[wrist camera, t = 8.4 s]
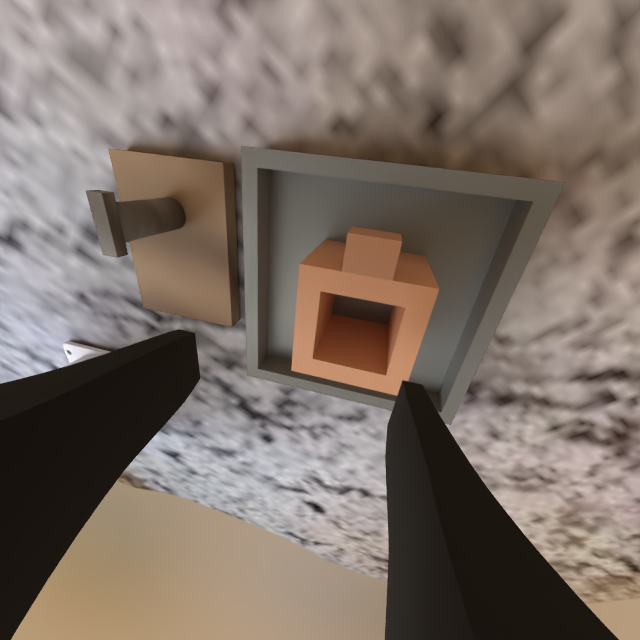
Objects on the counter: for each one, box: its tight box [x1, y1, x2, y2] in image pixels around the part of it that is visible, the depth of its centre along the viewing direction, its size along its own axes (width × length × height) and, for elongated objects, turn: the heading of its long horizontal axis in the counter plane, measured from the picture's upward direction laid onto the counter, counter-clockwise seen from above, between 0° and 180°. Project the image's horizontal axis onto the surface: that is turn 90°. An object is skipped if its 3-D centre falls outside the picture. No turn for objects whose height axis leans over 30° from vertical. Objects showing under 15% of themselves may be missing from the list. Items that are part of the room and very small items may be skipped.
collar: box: [291, 227, 439, 396], centre depth 14 cm, size 7×6×5 cm
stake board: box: [86, 149, 240, 327], centre depth 16 cm, size 10×7×6 cm
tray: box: [241, 146, 565, 425], centre depth 16 cm, size 14×14×2 cm
